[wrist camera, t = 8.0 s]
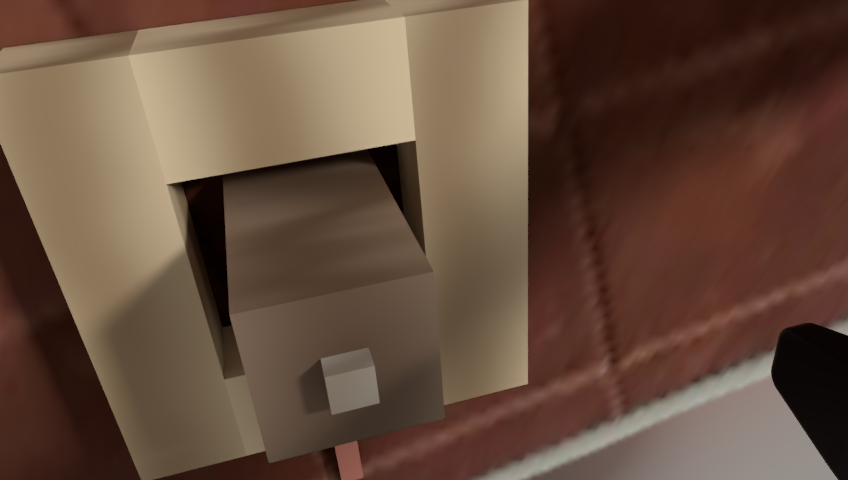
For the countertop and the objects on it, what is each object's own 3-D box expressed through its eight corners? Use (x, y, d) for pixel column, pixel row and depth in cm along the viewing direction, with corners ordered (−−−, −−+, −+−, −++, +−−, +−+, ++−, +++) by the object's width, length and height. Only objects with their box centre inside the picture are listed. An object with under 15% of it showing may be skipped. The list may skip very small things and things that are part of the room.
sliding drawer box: (365, 146, 20) (442, 288, 13) (380, 264, 22) (452, 437, 15) (222, 170, 19) (230, 333, 12) (251, 291, 21) (270, 484, 14)
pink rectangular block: (345, 377, 23) (347, 387, 23) (360, 466, 25) (363, 477, 25) (321, 383, 23) (324, 393, 23) (339, 472, 25) (342, 483, 25)
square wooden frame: (491, -18, 18) (527, -1, 16) (500, 337, 24) (527, 383, 22) (3, 48, 16) (-28, 77, 14) (148, 422, 22) (142, 482, 20)
